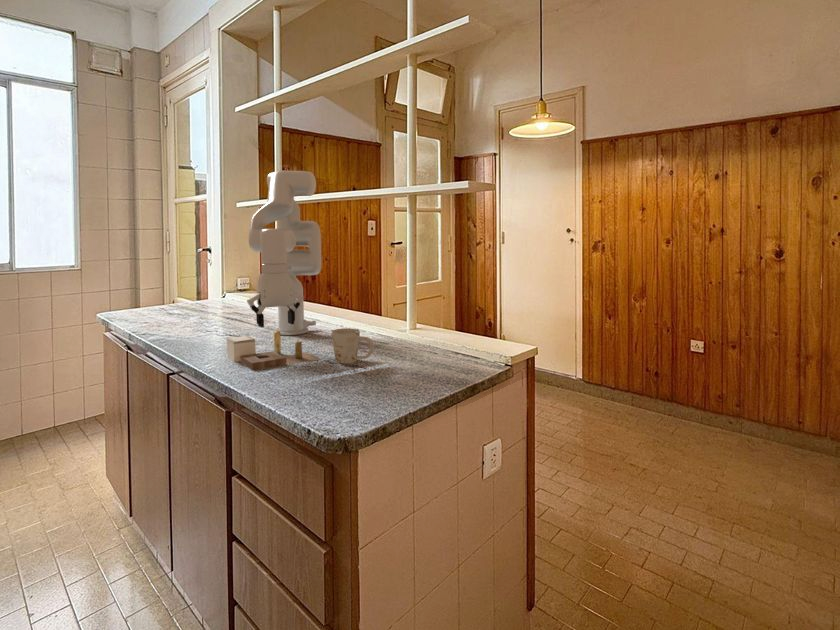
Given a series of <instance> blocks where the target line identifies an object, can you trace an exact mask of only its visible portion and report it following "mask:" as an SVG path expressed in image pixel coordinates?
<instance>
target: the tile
mask: <svg viewBox="0 0 840 630" xmlns="http://www.w3.org/2000/svg"><path fill="white" fill-rule="evenodd" d="M302 343H303V341H299V340H298V341H295V342H294V354H289V355H283V356H284V357H286V359H287V364H289V365H294V364H301V363H306V362H312V361H318V360H321V358H320V357H318V356H315V355H314V354H311V353H309V352H303V344H302Z"/></svg>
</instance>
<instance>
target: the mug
mask: <svg viewBox="0 0 840 630" xmlns="http://www.w3.org/2000/svg"><path fill="white" fill-rule="evenodd" d="M330 333H331V340H332V345H333V346H332V347H333V352H334V360H335V363H339V364H352V363H356V362H357V360H358V359H359V360H361V359H362V360H365V359H368V358H369V357H371V356H372V354H373V353H374V351H375V343H374V341H373V340H372V339H371V338H370V337H369V336H360V334H361V331H360V330H359V329H358V328H357V329H356V328H335V329H333V330H331V332H330ZM360 341H361V342H367V343H368V345H369V351H368V352H367V353H366V355H358V353H359V352H358V350H359V345H360V344H359V343H360Z"/></svg>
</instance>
